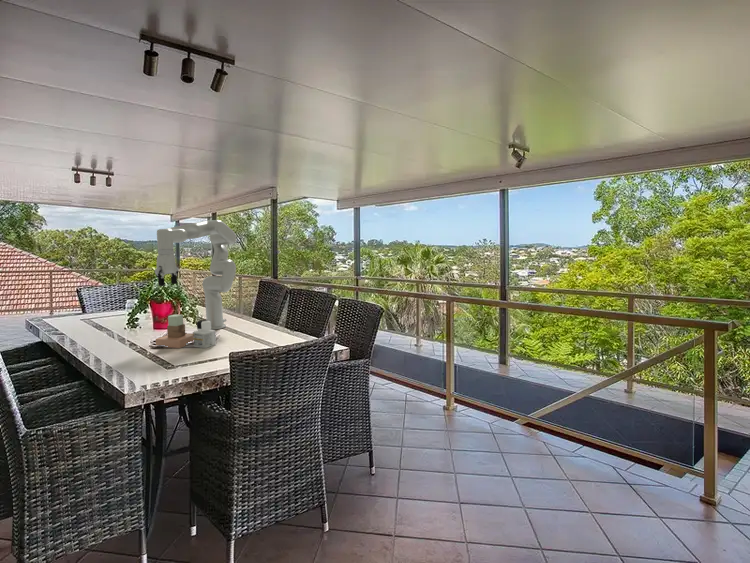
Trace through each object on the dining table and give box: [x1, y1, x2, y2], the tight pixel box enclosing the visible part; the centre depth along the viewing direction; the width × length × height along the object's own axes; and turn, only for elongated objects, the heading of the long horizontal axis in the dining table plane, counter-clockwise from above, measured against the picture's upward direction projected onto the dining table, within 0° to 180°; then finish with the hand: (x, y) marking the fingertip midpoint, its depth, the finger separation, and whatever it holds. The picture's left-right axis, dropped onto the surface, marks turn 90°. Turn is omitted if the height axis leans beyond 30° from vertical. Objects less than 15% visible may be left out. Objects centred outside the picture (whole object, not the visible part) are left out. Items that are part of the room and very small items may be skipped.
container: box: [192, 319, 217, 349], centre depth 223 cm, size 8×8×13 cm
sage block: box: [167, 314, 184, 326], centre depth 227 cm, size 5×5×5 cm
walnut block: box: [166, 323, 186, 338], centre depth 228 cm, size 6×6×6 cm
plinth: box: [155, 332, 193, 349], centre depth 228 cm, size 14×14×4 cm
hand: (168, 284), depth 233 cm, fingers open, 9 cm apart
